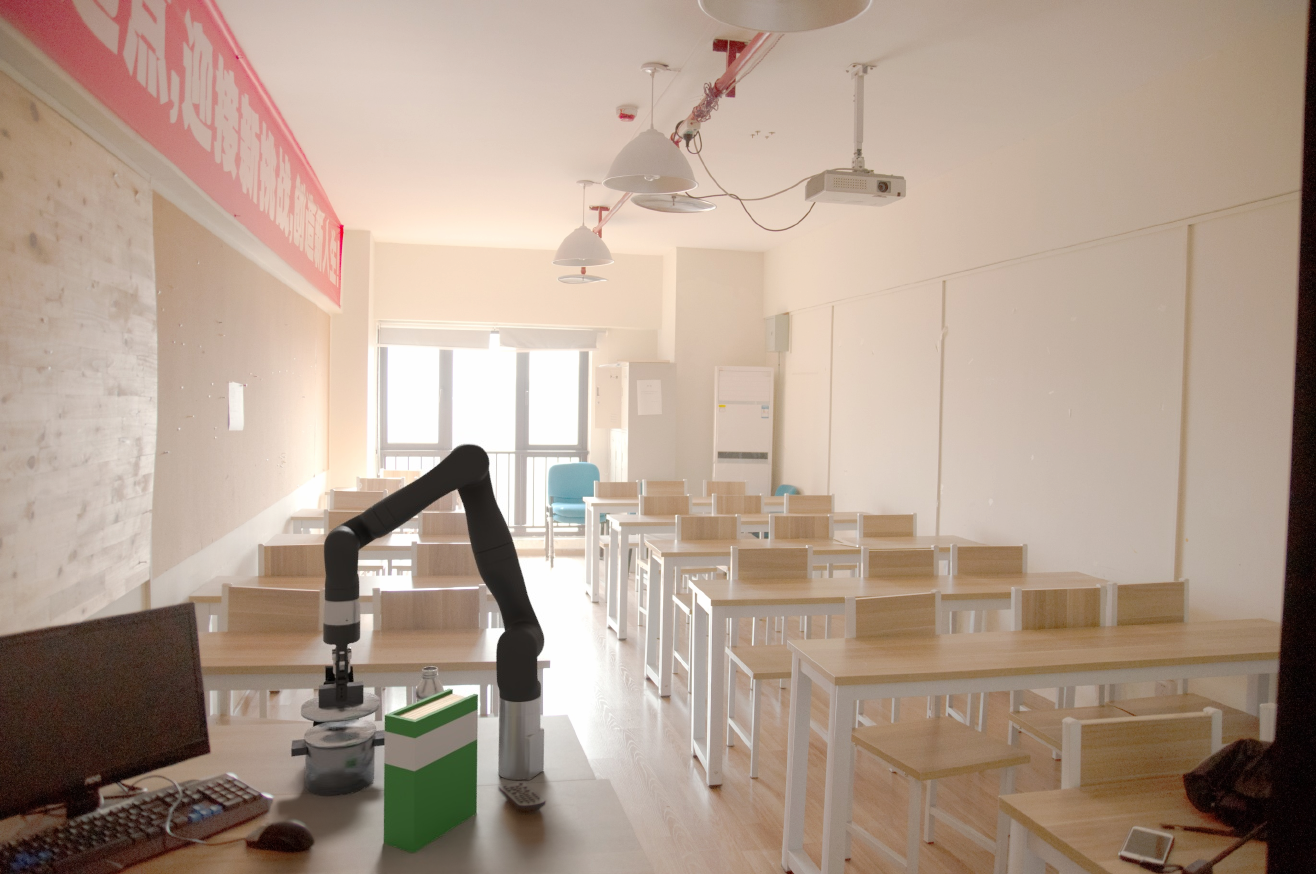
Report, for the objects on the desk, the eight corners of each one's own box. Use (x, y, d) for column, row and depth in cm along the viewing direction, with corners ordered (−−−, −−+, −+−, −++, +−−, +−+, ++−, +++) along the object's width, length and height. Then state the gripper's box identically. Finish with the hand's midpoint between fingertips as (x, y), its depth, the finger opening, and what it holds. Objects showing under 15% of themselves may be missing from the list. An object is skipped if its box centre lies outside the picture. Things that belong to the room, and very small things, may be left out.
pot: (385, 762, 192) (385, 714, 192) (389, 789, 179) (389, 737, 178) (292, 774, 185) (293, 724, 185) (289, 802, 171) (290, 749, 171)
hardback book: (447, 805, 172) (449, 688, 171) (476, 813, 168) (477, 694, 168) (383, 843, 156) (384, 715, 155) (413, 853, 152) (415, 722, 152)
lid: (378, 693, 192) (378, 671, 192) (382, 717, 177) (382, 692, 177) (302, 701, 186) (302, 678, 186) (299, 726, 171) (299, 700, 171)
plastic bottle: (436, 759, 194) (437, 673, 194) (409, 756, 196) (410, 671, 195) (448, 748, 201) (449, 665, 200) (422, 746, 202) (423, 663, 202)
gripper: (361, 625, 176) (360, 707, 176) (359, 611, 189) (358, 687, 189) (322, 628, 173) (322, 711, 174) (323, 613, 186) (322, 690, 187)
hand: (341, 698), depth 181 cm, fingers closed on lid, 3 cm apart
